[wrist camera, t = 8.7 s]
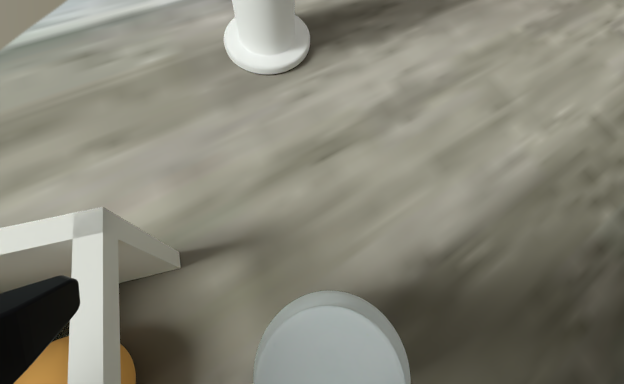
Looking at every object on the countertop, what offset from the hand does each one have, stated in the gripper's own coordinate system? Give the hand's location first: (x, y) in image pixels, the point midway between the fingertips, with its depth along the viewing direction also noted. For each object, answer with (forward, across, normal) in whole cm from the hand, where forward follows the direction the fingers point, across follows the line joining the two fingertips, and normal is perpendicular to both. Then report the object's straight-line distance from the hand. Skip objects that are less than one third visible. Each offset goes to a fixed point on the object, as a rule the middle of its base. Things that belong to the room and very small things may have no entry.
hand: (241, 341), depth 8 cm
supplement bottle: (+7, -4, +7) cm, 11 cm away
